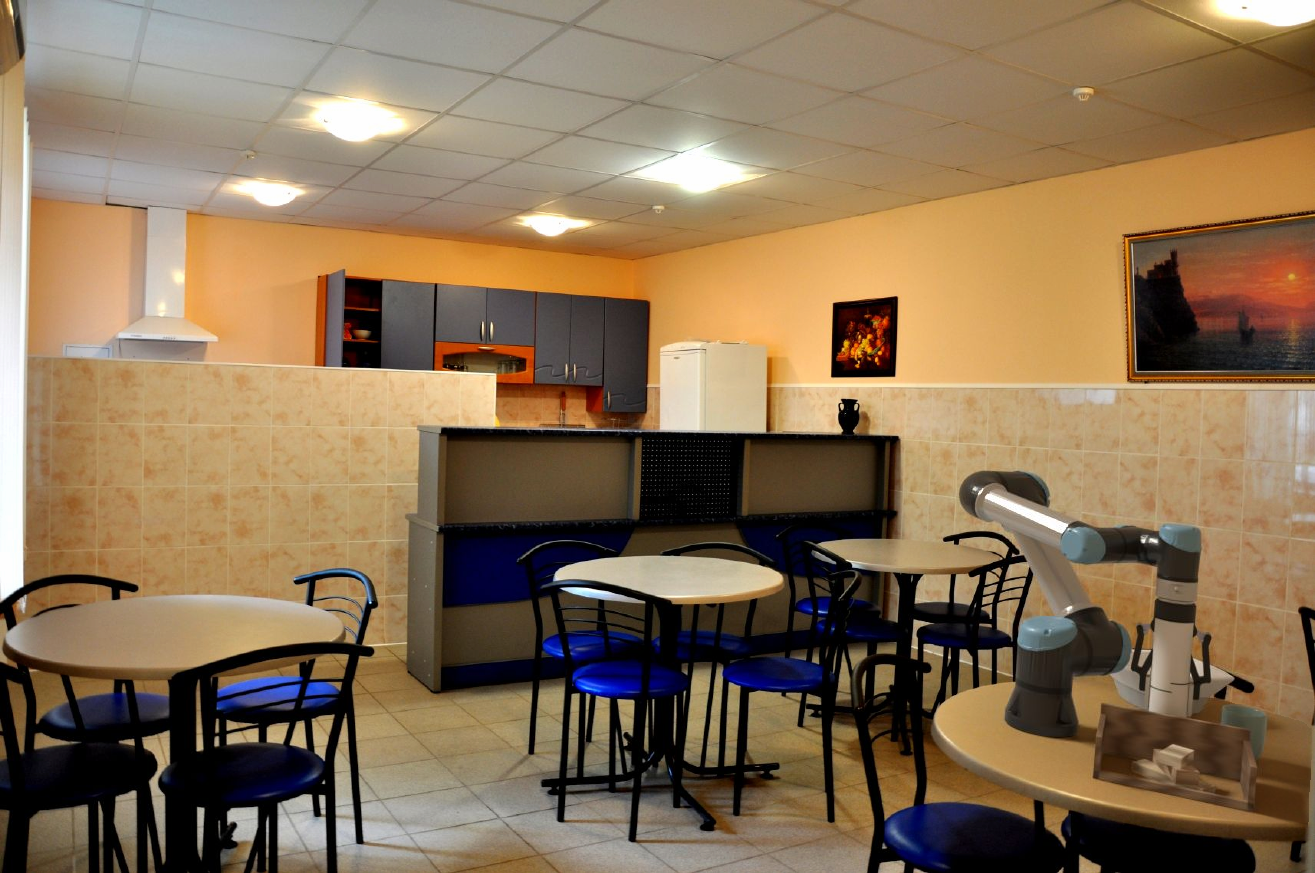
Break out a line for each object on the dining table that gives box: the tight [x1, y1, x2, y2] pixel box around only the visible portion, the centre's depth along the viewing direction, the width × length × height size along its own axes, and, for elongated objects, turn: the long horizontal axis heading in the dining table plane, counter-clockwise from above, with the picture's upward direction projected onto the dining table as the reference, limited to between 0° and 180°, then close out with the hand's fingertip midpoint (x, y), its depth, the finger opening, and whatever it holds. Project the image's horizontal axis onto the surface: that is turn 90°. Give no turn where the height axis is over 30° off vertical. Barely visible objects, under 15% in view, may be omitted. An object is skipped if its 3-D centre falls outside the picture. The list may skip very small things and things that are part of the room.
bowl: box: [1109, 649, 1235, 715], centre depth 230 cm, size 24×25×10 cm
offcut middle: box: [1153, 749, 1201, 786], centre depth 180 cm, size 11×4×2 cm, turn 172°
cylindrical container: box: [1148, 618, 1194, 718], centre depth 195 cm, size 7×7×25 cm
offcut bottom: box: [1131, 759, 1216, 794], centre depth 180 cm, size 14×4×2 cm, turn 29°
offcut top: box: [1159, 744, 1194, 769], centre depth 180 cm, size 7×4×2 cm, turn 133°
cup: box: [1220, 704, 1268, 762], centre depth 195 cm, size 8×8×10 cm
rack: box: [1092, 702, 1258, 813], centre depth 182 cm, size 26×17×10 cm, turn 62°
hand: (1167, 710), depth 195 cm, fingers closed on cylindrical container, 7 cm apart
